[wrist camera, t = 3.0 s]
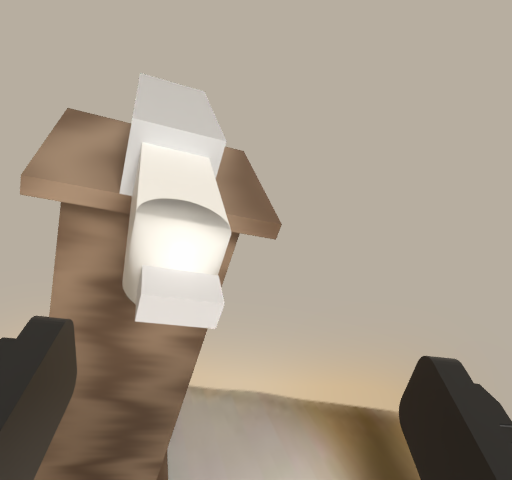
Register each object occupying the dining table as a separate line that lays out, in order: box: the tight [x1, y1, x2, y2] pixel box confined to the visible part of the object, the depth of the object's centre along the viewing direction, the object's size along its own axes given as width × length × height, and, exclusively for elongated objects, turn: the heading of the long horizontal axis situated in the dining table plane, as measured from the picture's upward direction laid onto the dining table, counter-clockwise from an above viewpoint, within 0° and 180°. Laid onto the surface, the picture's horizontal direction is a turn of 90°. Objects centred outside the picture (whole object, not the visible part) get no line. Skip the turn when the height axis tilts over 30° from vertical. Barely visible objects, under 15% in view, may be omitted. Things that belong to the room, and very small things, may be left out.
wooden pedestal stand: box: [20, 108, 282, 480], centre depth 34 cm, size 14×14×34 cm
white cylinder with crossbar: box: [119, 73, 231, 329], centre depth 20 cm, size 21×4×4 cm, turn 12°
